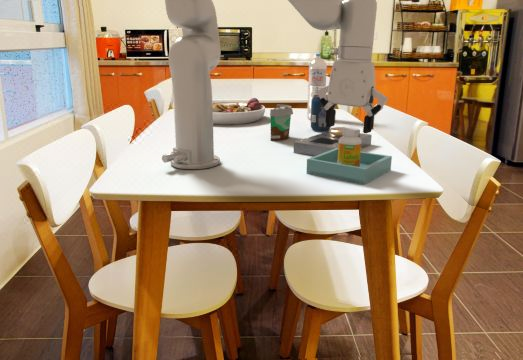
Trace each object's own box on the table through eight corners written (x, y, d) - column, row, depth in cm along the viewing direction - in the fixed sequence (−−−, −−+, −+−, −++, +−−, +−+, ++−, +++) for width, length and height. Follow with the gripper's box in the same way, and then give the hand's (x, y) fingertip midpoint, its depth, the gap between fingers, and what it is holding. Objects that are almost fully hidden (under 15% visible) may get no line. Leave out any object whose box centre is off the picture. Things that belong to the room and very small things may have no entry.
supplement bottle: (341, 171, 114) (343, 131, 111) (334, 165, 119) (336, 126, 116) (362, 170, 115) (365, 130, 112) (354, 164, 120) (357, 126, 117)
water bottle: (327, 118, 191) (330, 53, 183) (319, 121, 185) (322, 54, 178) (312, 117, 194) (314, 53, 187) (304, 119, 189) (306, 53, 181)
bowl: (206, 129, 170) (205, 107, 168) (177, 117, 195) (176, 97, 193) (279, 122, 184) (279, 101, 181) (243, 111, 209) (243, 93, 207)
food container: (289, 142, 148) (290, 110, 145) (269, 141, 149) (270, 109, 146) (294, 134, 160) (295, 104, 157) (276, 134, 161) (277, 104, 158)
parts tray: (364, 184, 107) (365, 169, 106) (306, 173, 115) (306, 159, 114) (390, 170, 118) (391, 156, 117) (336, 160, 127) (336, 147, 126)
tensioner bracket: (334, 159, 128) (335, 142, 127) (293, 152, 136) (294, 136, 134) (370, 144, 146) (371, 129, 145) (332, 139, 153) (333, 125, 152)
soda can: (321, 127, 172) (322, 93, 169) (334, 130, 167) (336, 95, 163) (306, 129, 168) (307, 95, 165) (319, 133, 163) (320, 97, 159)
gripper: (313, 52, 111) (308, 126, 116) (384, 57, 101) (375, 137, 106) (329, 52, 117) (324, 122, 122) (398, 56, 107) (389, 132, 112)
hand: (348, 129), depth 114 cm, fingers open, 9 cm apart
